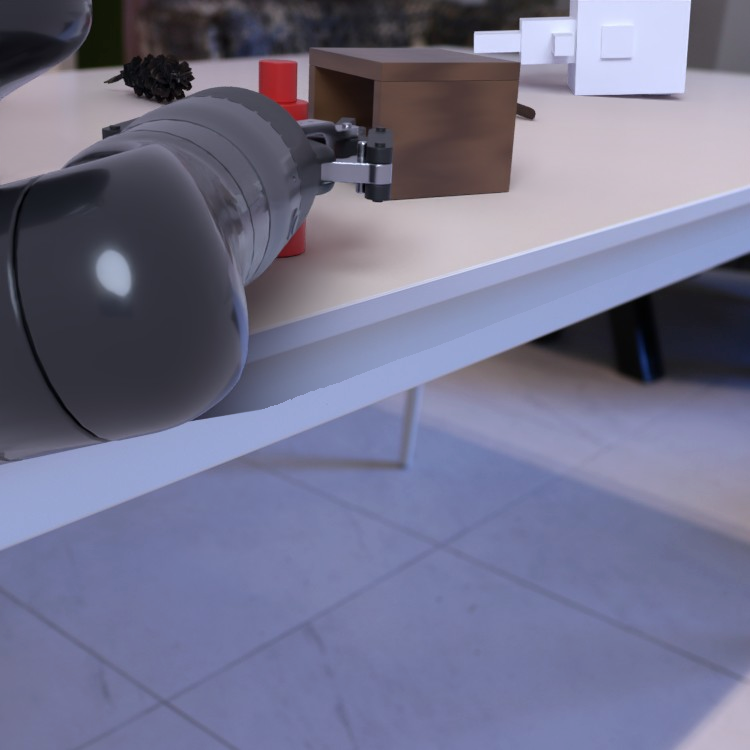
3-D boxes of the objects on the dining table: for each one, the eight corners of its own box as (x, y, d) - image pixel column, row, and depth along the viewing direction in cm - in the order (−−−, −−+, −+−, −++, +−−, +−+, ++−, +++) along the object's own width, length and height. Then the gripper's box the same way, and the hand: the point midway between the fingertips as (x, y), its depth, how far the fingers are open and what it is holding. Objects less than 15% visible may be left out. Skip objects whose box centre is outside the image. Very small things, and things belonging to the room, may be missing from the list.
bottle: (260, 259, 56) (261, 64, 52) (238, 244, 58) (237, 58, 55) (314, 254, 57) (319, 64, 54) (290, 240, 60) (293, 58, 56)
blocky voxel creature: (475, 88, 157) (666, 83, 155) (473, 108, 134) (698, 104, 131) (475, -17, 152) (673, -24, 149) (473, -15, 129) (707, -23, 126)
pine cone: (212, 108, 110) (212, 56, 108) (169, 110, 107) (168, 57, 105) (135, 88, 123) (133, 41, 121) (94, 89, 120) (92, 41, 118)
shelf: (376, 201, 71) (382, 62, 68) (306, 171, 80) (309, 47, 77) (509, 191, 76) (521, 62, 73) (429, 164, 85) (437, 48, 82)
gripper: (389, 108, 40) (419, 69, 56) (29, 86, 42) (156, 54, 57) (380, 295, 43) (411, 209, 59) (42, 269, 44) (160, 191, 60)
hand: (285, 133), depth 58 cm, fingers open, 6 cm apart
